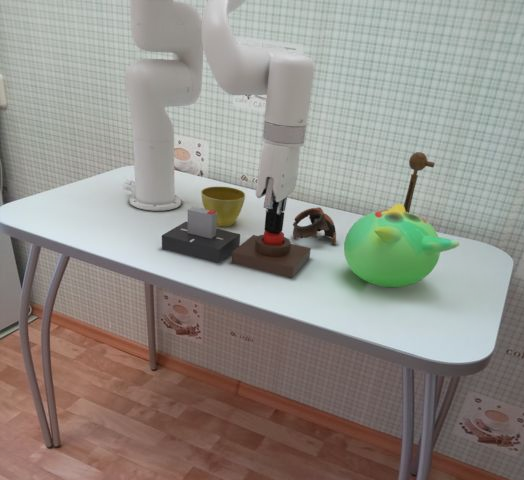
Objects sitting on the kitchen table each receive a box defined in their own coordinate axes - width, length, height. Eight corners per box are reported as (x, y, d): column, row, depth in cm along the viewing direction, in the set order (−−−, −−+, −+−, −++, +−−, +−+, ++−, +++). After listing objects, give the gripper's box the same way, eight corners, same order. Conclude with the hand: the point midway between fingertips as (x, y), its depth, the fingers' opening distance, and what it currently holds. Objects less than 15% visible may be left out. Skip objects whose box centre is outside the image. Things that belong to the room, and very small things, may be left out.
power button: (260, 243, 101) (261, 234, 100) (267, 237, 104) (268, 228, 103) (278, 247, 100) (279, 238, 99) (285, 241, 103) (286, 232, 102)
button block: (231, 263, 102) (232, 242, 100) (252, 245, 111) (254, 225, 108) (292, 278, 99) (294, 257, 96) (309, 259, 107) (312, 238, 105)
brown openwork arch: (339, 252, 113) (328, 222, 107) (299, 264, 116) (286, 235, 111) (339, 221, 121) (328, 192, 115) (301, 232, 124) (289, 204, 119)
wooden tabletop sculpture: (415, 240, 122) (438, 153, 111) (410, 246, 119) (433, 157, 108) (391, 234, 124) (412, 148, 113) (385, 239, 121) (406, 151, 110)
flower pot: (228, 234, 115) (230, 203, 111) (191, 223, 119) (192, 192, 115) (251, 222, 122) (253, 193, 119) (215, 212, 126) (217, 183, 122)
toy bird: (411, 265, 109) (429, 197, 101) (445, 303, 95) (469, 228, 87) (329, 263, 106) (342, 193, 98) (353, 302, 92) (369, 224, 84)
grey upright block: (187, 233, 105) (187, 208, 102) (192, 230, 107) (192, 205, 104) (211, 238, 104) (212, 213, 101) (216, 235, 106) (217, 210, 103)
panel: (161, 249, 105) (161, 234, 103) (185, 234, 113) (185, 220, 111) (218, 263, 101) (219, 248, 100) (239, 247, 109) (240, 233, 108)
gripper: (279, 124, 98) (269, 216, 108) (248, 136, 86) (240, 239, 96) (316, 130, 96) (302, 224, 106) (290, 144, 84) (277, 248, 94)
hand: (273, 231), depth 101 cm, fingers closed
